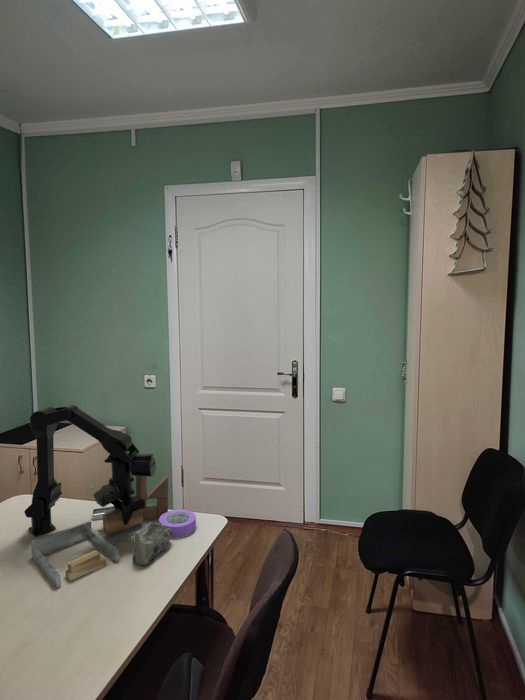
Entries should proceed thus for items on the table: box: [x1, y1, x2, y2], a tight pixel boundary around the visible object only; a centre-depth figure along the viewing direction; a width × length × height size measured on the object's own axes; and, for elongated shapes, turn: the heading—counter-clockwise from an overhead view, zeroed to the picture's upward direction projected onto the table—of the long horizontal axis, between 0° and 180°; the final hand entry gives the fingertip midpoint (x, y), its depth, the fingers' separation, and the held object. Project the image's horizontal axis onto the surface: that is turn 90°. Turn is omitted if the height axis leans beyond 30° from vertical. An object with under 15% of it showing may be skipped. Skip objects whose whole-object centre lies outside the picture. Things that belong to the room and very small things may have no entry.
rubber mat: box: [98, 521, 147, 545], centre depth 142 cm, size 8×14×1 cm, turn 135°
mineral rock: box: [132, 521, 172, 566], centre depth 129 cm, size 13×11×10 cm
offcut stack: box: [64, 549, 107, 582], centre depth 122 cm, size 3×10×4 cm, turn 134°
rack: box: [30, 520, 120, 588], centre depth 127 cm, size 19×17×5 cm
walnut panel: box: [102, 508, 144, 536], centre depth 141 cm, size 3×12×6 cm, turn 135°
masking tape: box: [158, 509, 197, 539], centre depth 144 cm, size 12×12×4 cm
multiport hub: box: [91, 506, 115, 521], centre depth 154 cm, size 4×14×2 cm, turn 107°
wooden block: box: [134, 473, 169, 521], centre depth 150 cm, size 4×11×18 cm, turn 105°
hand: (123, 522), depth 142 cm, fingers closed on walnut panel, 3 cm apart
